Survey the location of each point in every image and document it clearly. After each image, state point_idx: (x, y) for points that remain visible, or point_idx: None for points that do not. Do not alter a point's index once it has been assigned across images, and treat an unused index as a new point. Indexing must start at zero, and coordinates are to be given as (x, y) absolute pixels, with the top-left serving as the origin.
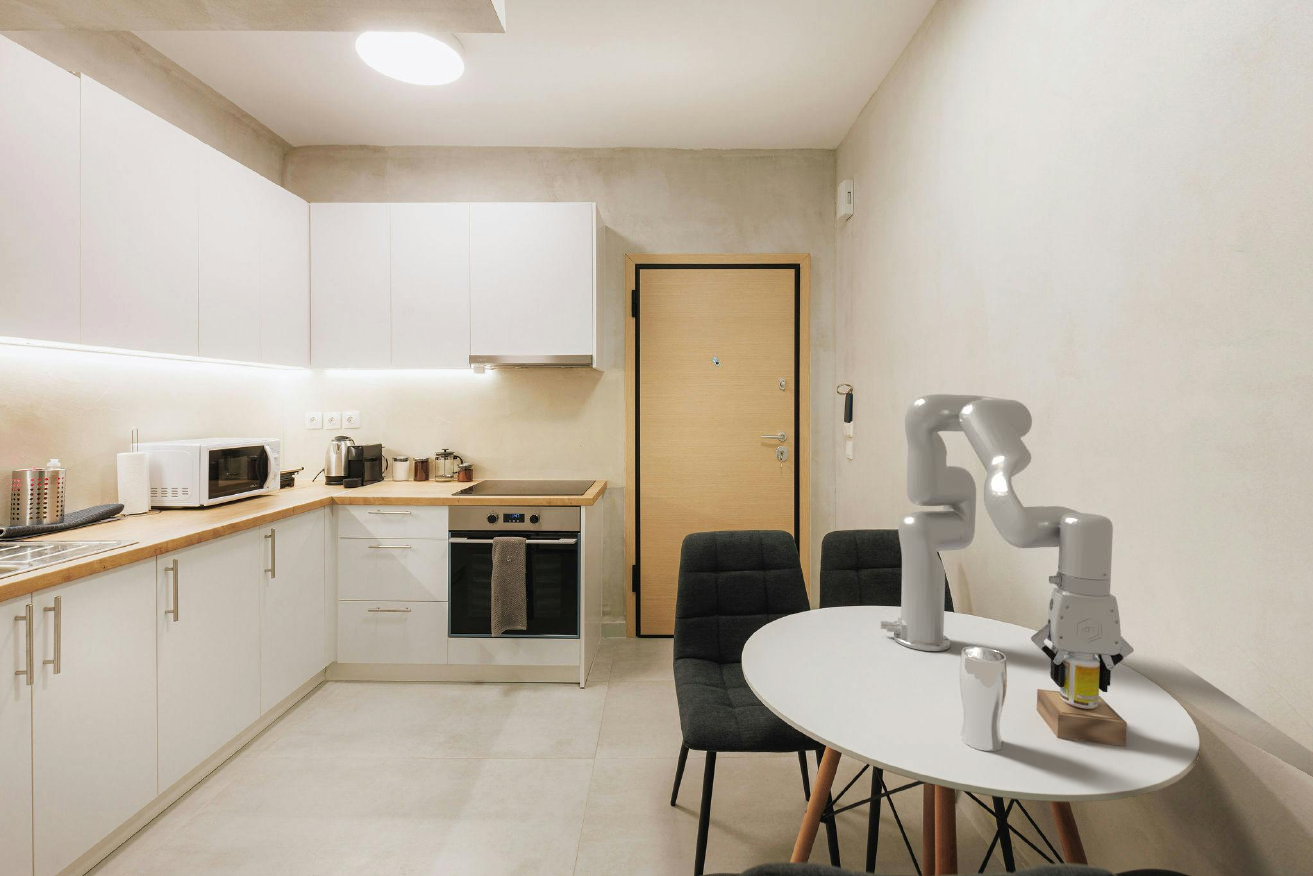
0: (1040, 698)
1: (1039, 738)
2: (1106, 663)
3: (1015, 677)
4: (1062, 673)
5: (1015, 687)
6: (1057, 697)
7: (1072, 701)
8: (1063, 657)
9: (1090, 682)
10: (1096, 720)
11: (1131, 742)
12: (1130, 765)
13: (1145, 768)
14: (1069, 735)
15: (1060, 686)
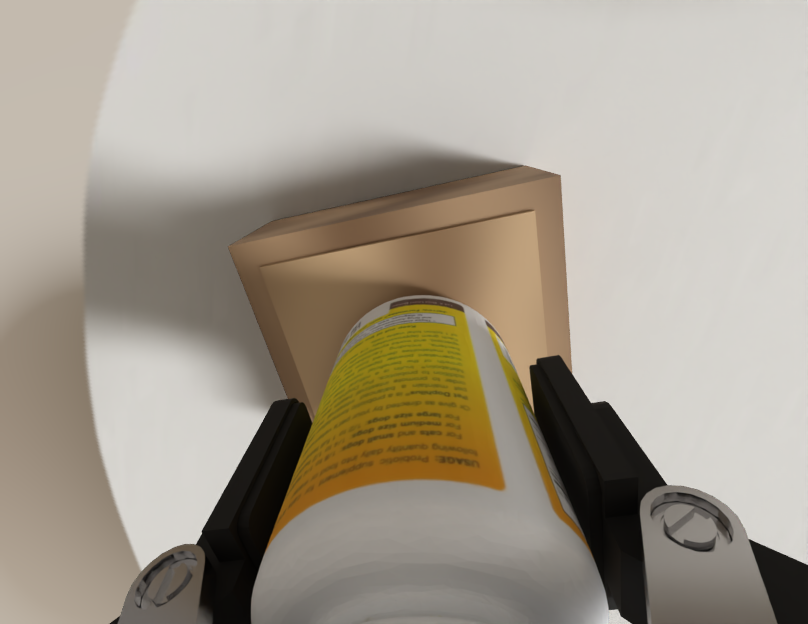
0: None
1: (609, 116)
2: (186, 605)
3: None
4: (581, 420)
5: None
6: None
7: (468, 311)
8: (651, 581)
9: (368, 384)
10: (365, 215)
11: None
12: (266, 27)
13: (211, 30)
14: (480, 177)
15: (553, 356)
